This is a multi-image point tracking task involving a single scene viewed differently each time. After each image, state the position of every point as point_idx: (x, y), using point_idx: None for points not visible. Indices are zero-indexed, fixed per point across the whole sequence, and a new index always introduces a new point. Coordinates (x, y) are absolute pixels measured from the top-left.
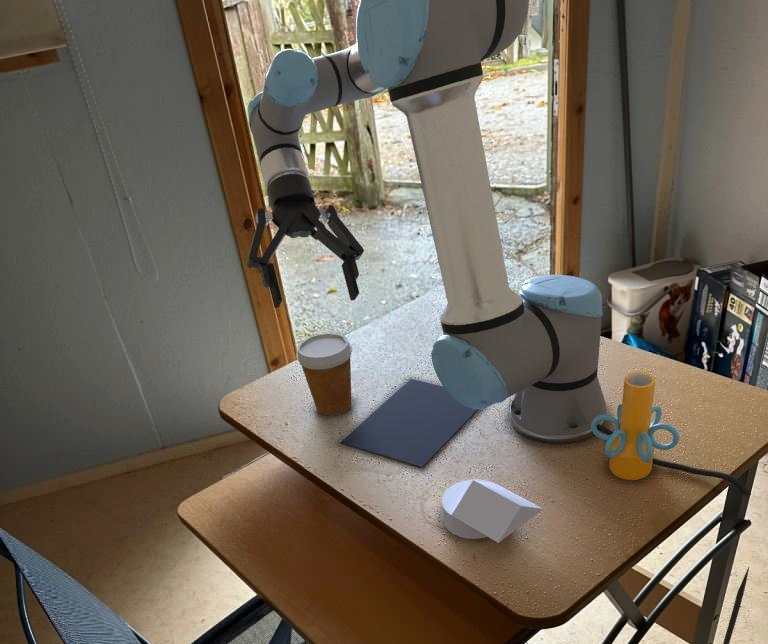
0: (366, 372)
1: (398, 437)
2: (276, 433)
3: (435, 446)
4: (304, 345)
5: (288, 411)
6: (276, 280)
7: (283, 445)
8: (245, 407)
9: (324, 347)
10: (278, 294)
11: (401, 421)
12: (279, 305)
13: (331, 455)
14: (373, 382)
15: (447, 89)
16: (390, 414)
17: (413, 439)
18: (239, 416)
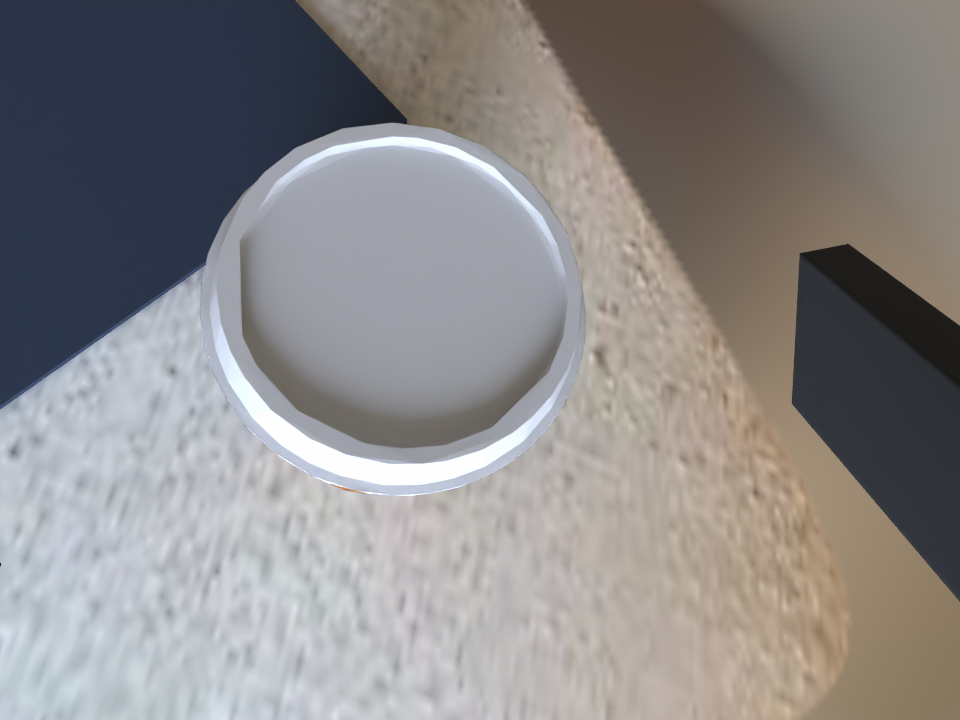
0: (109, 682)
1: (170, 43)
2: (646, 307)
3: None
4: (527, 370)
5: (583, 457)
6: (953, 365)
7: (624, 214)
8: (775, 584)
9: (398, 278)
10: (862, 272)
11: (113, 136)
12: (797, 366)
13: (454, 72)
14: (110, 548)
15: None
16: (139, 208)
17: (117, 2)
18: (799, 514)
